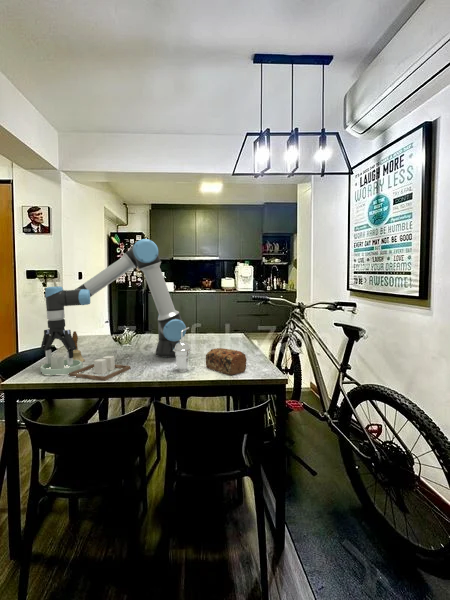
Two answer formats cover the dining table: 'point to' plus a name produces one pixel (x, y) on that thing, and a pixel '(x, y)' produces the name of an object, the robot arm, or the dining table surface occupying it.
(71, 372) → the tray
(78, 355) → the hand bell
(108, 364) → the white upright block
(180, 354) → the cup with straw
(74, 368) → the bowl
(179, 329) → the robot arm
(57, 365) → the white rectangular block
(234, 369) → the bread
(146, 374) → the dining table surface
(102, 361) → the white block
